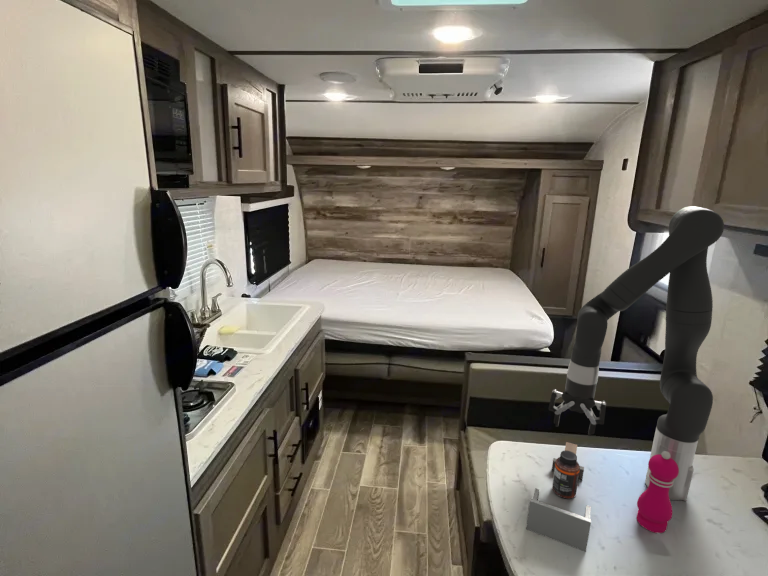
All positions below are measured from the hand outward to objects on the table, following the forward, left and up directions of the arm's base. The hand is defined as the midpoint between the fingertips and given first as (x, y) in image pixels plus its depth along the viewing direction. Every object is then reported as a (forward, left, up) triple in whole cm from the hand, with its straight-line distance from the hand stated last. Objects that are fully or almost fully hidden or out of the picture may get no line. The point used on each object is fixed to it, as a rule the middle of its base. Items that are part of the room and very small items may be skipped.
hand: (573, 429), depth 121 cm
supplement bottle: (0, +11, -13) cm, 17 cm away
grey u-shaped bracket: (0, +24, -12) cm, 27 cm away
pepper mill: (-20, +12, -13) cm, 27 cm away
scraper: (0, 0, -12) cm, 12 cm away
